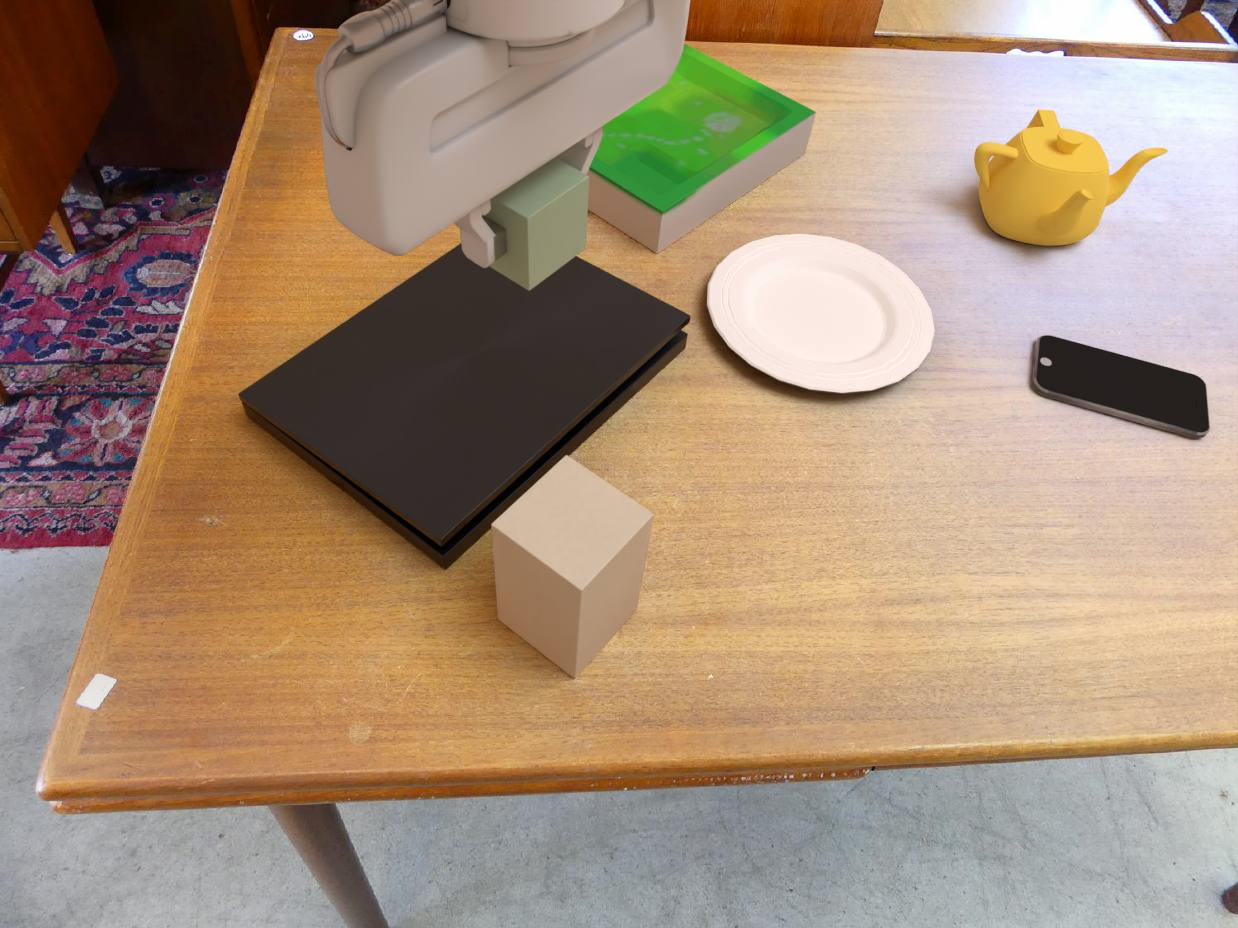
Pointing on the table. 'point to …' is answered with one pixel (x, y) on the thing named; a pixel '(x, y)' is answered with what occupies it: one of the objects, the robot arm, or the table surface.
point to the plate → (820, 313)
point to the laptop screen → (461, 381)
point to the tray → (692, 150)
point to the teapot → (1050, 182)
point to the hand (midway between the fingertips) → (525, 228)
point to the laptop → (515, 490)
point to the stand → (570, 563)
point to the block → (541, 222)
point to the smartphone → (1121, 386)
